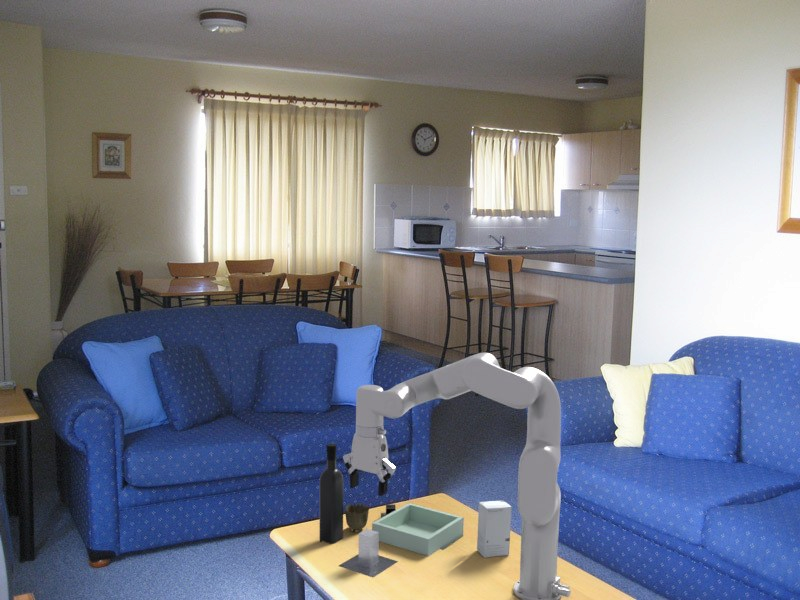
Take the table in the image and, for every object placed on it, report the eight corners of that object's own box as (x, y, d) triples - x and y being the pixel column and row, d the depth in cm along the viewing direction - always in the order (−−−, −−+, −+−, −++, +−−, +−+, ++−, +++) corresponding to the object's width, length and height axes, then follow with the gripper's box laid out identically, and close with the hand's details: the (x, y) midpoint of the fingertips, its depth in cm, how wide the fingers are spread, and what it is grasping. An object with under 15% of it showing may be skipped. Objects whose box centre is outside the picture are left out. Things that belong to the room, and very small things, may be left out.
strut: (378, 562, 231) (378, 532, 229) (370, 568, 227) (370, 536, 226) (366, 559, 233) (367, 528, 232) (358, 564, 229) (358, 533, 228)
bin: (463, 536, 252) (463, 517, 251) (428, 559, 236) (428, 539, 235) (408, 520, 263) (409, 502, 262) (371, 542, 247) (372, 522, 246)
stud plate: (398, 564, 232) (398, 549, 231) (373, 580, 222) (373, 564, 221) (364, 554, 238) (364, 538, 238) (338, 569, 229) (338, 553, 228)
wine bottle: (329, 536, 250) (329, 440, 247) (344, 540, 247) (345, 444, 244) (317, 543, 245) (318, 445, 242) (333, 547, 243) (333, 448, 239)
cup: (365, 538, 249) (365, 513, 248) (341, 536, 251) (342, 511, 250) (371, 528, 256) (371, 504, 255) (348, 526, 258) (348, 502, 257)
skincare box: (484, 558, 237) (485, 509, 235) (476, 549, 242) (477, 501, 240) (510, 555, 239) (512, 506, 237) (502, 546, 245) (503, 498, 243)
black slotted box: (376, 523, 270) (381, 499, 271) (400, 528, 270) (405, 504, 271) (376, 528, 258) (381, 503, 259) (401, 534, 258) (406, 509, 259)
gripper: (403, 433, 223) (401, 493, 226) (352, 422, 233) (351, 480, 235) (387, 439, 217) (386, 501, 220) (336, 427, 227) (335, 487, 229)
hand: (368, 490), depth 227 cm, fingers open, 9 cm apart
